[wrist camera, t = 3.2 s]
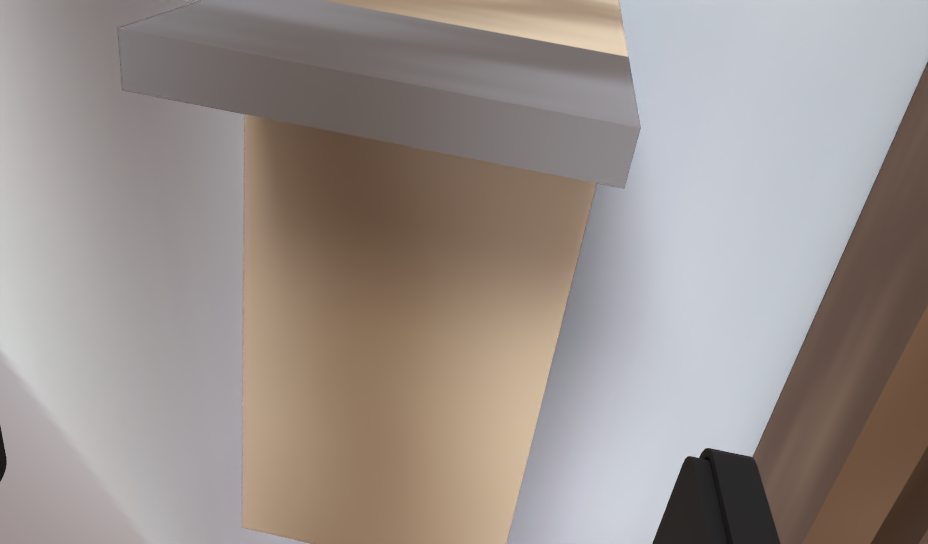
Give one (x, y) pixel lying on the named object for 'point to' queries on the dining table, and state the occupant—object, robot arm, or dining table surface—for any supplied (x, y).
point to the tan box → (400, 240)
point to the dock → (863, 375)
